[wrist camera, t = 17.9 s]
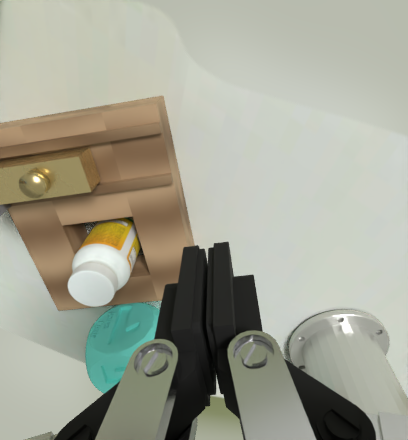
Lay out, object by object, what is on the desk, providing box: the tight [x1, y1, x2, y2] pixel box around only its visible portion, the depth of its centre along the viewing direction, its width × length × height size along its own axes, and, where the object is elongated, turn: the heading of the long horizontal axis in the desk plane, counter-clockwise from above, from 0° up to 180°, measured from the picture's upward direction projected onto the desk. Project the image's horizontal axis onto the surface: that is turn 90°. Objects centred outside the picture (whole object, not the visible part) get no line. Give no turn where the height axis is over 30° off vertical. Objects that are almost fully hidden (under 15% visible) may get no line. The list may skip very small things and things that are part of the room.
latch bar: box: [0, 147, 101, 205], centre depth 27 cm, size 3×8×4 cm, turn 99°
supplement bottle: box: [68, 217, 141, 307], centre depth 32 cm, size 5×5×10 cm
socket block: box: [0, 96, 195, 311], centre depth 32 cm, size 20×16×7 cm
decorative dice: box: [86, 302, 160, 394], centre depth 40 cm, size 8×8×8 cm
